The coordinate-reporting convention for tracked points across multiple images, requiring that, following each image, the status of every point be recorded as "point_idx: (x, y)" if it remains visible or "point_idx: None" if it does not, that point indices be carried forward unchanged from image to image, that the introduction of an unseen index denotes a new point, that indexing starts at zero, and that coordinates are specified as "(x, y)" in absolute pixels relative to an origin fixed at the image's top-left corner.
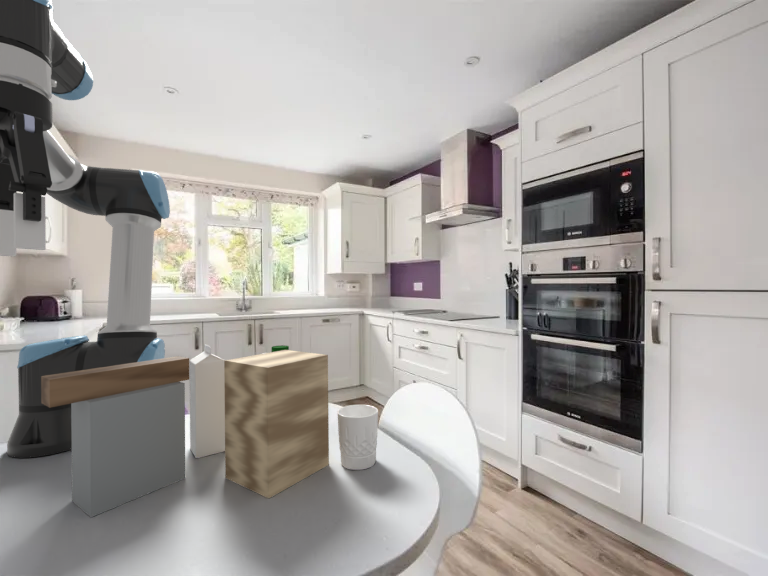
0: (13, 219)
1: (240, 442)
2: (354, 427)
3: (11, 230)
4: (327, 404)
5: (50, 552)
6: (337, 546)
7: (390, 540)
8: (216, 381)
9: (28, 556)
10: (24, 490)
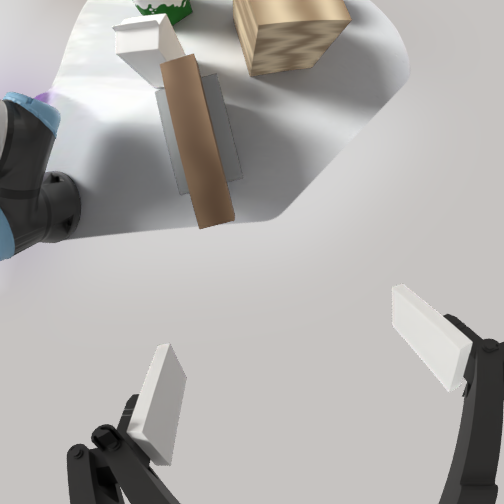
0: (151, 415)
1: (280, 58)
2: None
3: (160, 393)
4: None
5: (273, 199)
6: (387, 74)
7: (399, 55)
8: (170, 36)
9: (268, 210)
10: (149, 219)
